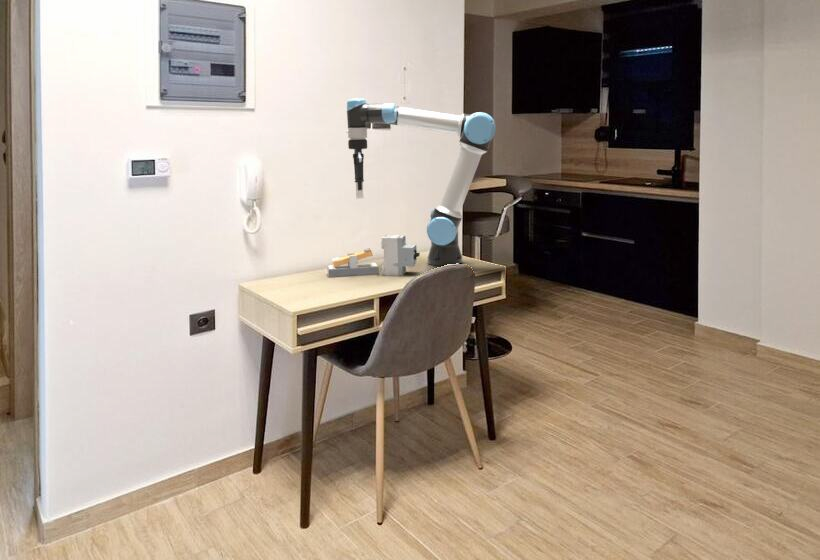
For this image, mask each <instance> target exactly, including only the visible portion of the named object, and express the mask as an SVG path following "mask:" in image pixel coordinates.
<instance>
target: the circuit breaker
mask: <svg viewBox="0 0 820 560" xmlns="http://www.w3.org/2000/svg"><path fill="white" fill-rule="evenodd" d="M406 240H407V238H406V235H405V234H386V235H384V236H383V237H381V242H380V244H381V246H380V247H381V249H382V250H383V262H382V264H381V271H382V276H398V277H399V276H403V275H404V274H405V273H407V267H408V268H409V267H411V268H412V267H414V266H415V265H416V264H417V263H418V261H417V258H418V257H420V254H421V253H420V252H418V251H417V244H415V243H414V244H411V243H410V244H407V241H406Z"/></svg>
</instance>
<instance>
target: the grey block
mask: <svg viewBox="0 0 820 560" xmlns="http://www.w3.org/2000/svg"><path fill="white" fill-rule="evenodd" d="M353 254H356V252H348V253H347V256H349V255H353ZM349 261H350V263H347V264H343V265H340V266H337V267H334V265H333V264H332V265H327V266H326V267H327V269H326V270H327V276H328V278H342V277H353V276H354V277H357V276H371V275H372V276H373V275H380V267H379V265H378V264H377V263H376V262H370V263H366V264H365V263H363V264H358V260H357V255H353V256H349Z"/></svg>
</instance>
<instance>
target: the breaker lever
mask: <svg viewBox="0 0 820 560" xmlns="http://www.w3.org/2000/svg"><path fill="white" fill-rule="evenodd" d="M353 255H357V261H359V260H363V259H366V258H370V257H373V256H374V255H373V251H372V249H371V248H365V249H363V251H360V252H357V253H356V252H355V254H353ZM353 255H349V256H353ZM349 256H348V255H346V256H344V257H343V256H342V257H335V258H332V259H331V260H332V265H334V267H337V266H344V265H348V263H350V261H349Z"/></svg>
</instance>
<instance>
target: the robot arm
mask: <svg viewBox="0 0 820 560" xmlns="http://www.w3.org/2000/svg"><path fill="white" fill-rule="evenodd" d="M346 117H347V130H346V134H347V135H348V136H347V138H348V140H347V141H348V143H347V145H348V146H347V147H348V149H349V150H354V152H353V154H352V158H353V164H354V183H355V193H356V194H355V195H356V199H364V182H365V179H364V159H365V157H364V156H365V155H364V153H363V150H367V149H368V140H367V138H368V127H367V124H385V125H392V126H394V125H395V126H401V127H408V128H413V129H421V130H426V131H434V132H439V133H445V134H446V133H447V134H451V135H452V134H453V135H457V136H458V137H459V138H460V139H459V141H458V142H459V145H460V150H459V153H458V155H457V158H456V160H455V163H454V166H453V169H452V172H451V174H450V178H449V180H448V183H447V185H446V187H445V190H444V193H443V195H442V199H441V201H440V204H439V205H436V206H435V207H434V209H432V210H431V212H430V220H429V223H428V224H427V226H426V234H427V237H428V240H430V242H431V245H430V248H429V252H428V255H427V262H426V263H427V264H428V265H430V266H435V267H436V266H437V267H438V266H439V267H440V266H441V267H443V266H442V265H447V264H456V263H462V264H463V262H464V261H463V255H462V251H461V249H460V246H459V227H460V223H461V222H462V218H463V216H462V213H461V211H462V208H463V205H464V203H465V200H466V197H467V196H468V192H469V190H470V186H471V185H472V182H473V179H474V177H475V173H476V172H477V169H478V166H479V164H480V160H481V158H482V155H484V154H485V153H488V150H489V148H490V144H491V142H492V140H493V137H494V136H495V134H496V130H497V129H496V128H497V127H496V122H495V120H494V118H493V117H492V116H491V115H490V114H488V113H486V112H483V111H479V112H474V113H472V114H471V113H469V114H468V113H465V112H464V113H461V115H460V114H452V113H446V112H439V111H431V110H425V109H416V108H411V107H405V106H399V105H398V106H397V105H396V104H395V103H389V102H386V103H382V102H381V103H367V101H366V99H365V98H351V99H348V100H347V103H346Z"/></svg>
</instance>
